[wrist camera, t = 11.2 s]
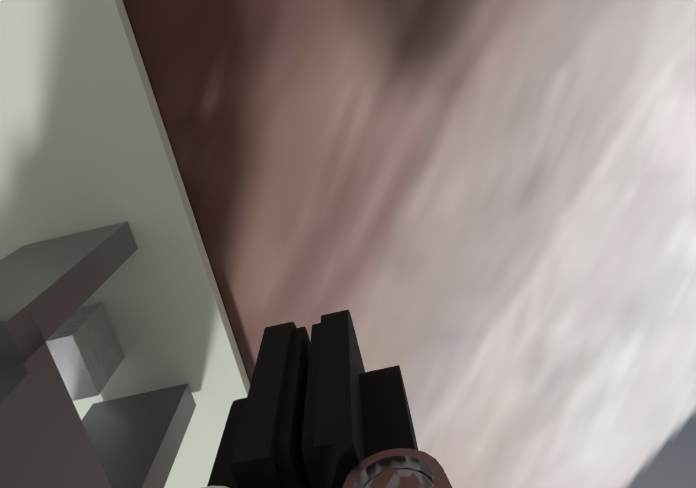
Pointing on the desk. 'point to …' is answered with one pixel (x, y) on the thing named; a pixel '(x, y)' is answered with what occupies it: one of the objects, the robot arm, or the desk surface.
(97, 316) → the base
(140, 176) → the mat
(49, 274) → the lock collar
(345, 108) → the desk surface
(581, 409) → the desk surface
